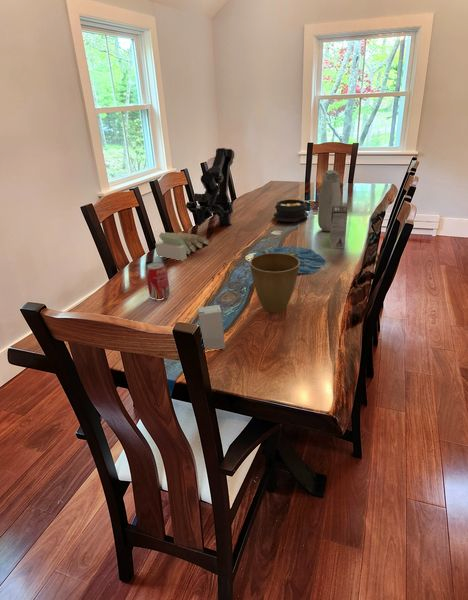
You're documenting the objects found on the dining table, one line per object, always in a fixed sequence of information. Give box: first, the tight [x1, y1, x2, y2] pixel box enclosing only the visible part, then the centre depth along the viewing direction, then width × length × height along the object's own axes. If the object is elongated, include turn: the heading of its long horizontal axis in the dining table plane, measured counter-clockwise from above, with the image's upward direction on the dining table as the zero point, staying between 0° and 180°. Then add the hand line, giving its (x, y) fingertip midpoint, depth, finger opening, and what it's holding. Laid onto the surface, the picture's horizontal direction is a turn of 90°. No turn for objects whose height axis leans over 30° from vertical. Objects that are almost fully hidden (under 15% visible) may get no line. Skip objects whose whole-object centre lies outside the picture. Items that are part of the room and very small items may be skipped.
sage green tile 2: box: [172, 232, 204, 249], centre depth 178 cm, size 2×10×11 cm
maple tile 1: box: [177, 231, 210, 246], centre depth 182 cm, size 2×10×11 cm
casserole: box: [273, 199, 309, 223], centre depth 213 cm, size 25×19×8 cm
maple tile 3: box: [165, 232, 197, 253], centre depth 174 cm, size 2×10×11 cm
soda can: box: [145, 261, 171, 299], centre depth 136 cm, size 7×7×12 cm
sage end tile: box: [158, 232, 192, 256], centre depth 171 cm, size 2×10×11 cm
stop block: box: [155, 241, 188, 262], centre depth 170 cm, size 3×14×6 cm, turn 58°
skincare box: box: [197, 304, 226, 351], centre depth 106 cm, size 6×4×12 cm
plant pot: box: [249, 253, 300, 314], centre depth 124 cm, size 15×15×16 cm
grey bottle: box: [317, 169, 342, 232], centre depth 187 cm, size 10×10×28 cm
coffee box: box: [329, 205, 348, 249], centre depth 172 cm, size 9×6×16 cm
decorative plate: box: [252, 245, 327, 275], centre depth 161 cm, size 30×30×5 cm
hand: (198, 225), depth 183 cm, fingers closed
